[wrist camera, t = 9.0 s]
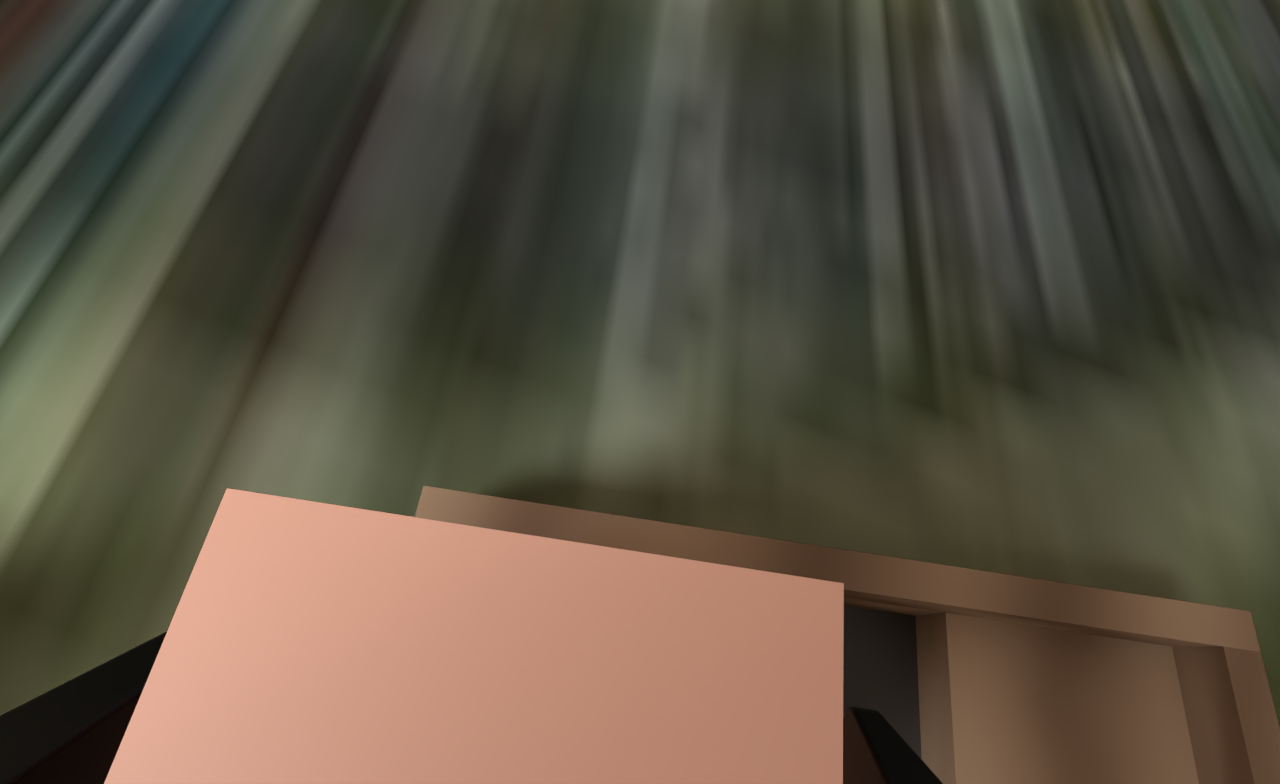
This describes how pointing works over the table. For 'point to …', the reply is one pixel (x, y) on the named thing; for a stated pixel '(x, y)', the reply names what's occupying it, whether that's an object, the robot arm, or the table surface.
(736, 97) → the table surface
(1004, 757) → the box
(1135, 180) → the table surface
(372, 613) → the coral block
